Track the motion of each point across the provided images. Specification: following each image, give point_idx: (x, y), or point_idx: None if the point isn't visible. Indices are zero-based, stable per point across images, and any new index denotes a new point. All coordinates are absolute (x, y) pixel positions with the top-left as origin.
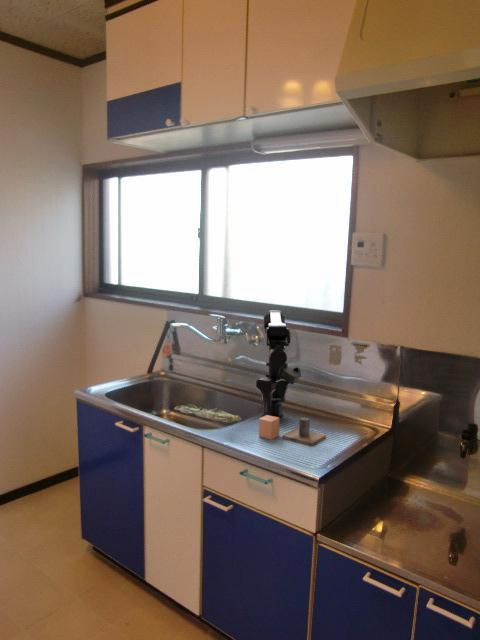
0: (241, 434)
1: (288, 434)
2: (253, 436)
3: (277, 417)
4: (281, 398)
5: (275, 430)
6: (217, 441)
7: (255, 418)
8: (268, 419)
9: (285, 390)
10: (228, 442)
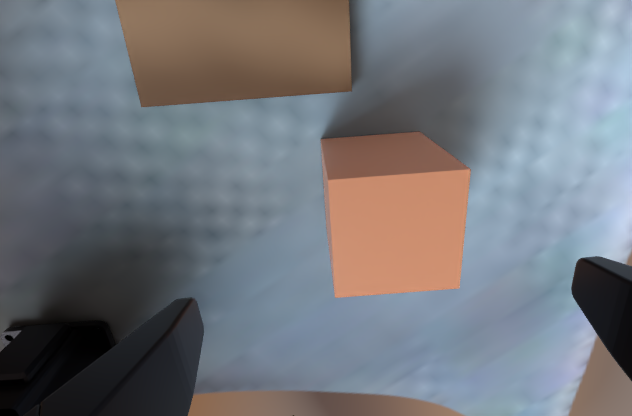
0: (446, 304)
1: (305, 65)
2: None
3: (332, 196)
4: (196, 330)
5: (374, 147)
6: None
7: None
8: (432, 223)
9: (89, 412)
10: None
